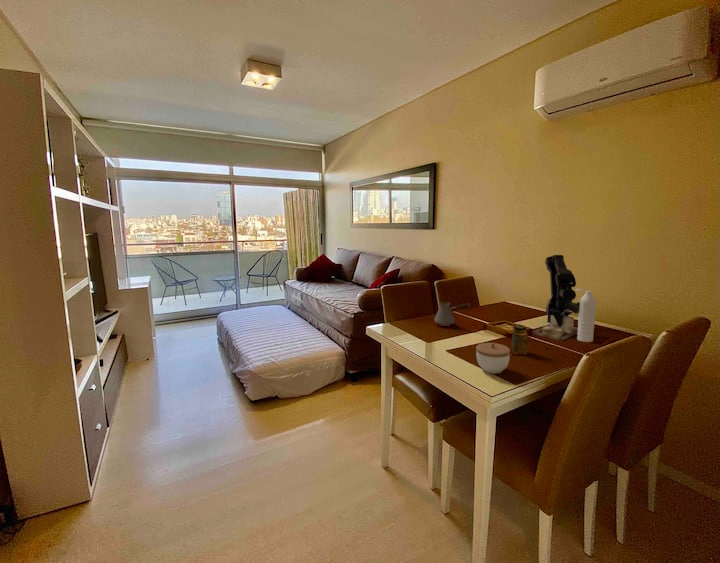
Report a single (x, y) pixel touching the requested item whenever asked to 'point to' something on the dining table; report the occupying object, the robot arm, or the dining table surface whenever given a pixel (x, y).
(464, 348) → the dining table surface
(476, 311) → the dining table surface
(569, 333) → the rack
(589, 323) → the water bottle
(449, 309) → the coffee pot
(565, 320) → the pale grey rectangular block
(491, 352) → the lidded bowl
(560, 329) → the offcut
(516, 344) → the condiment
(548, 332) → the offcut
